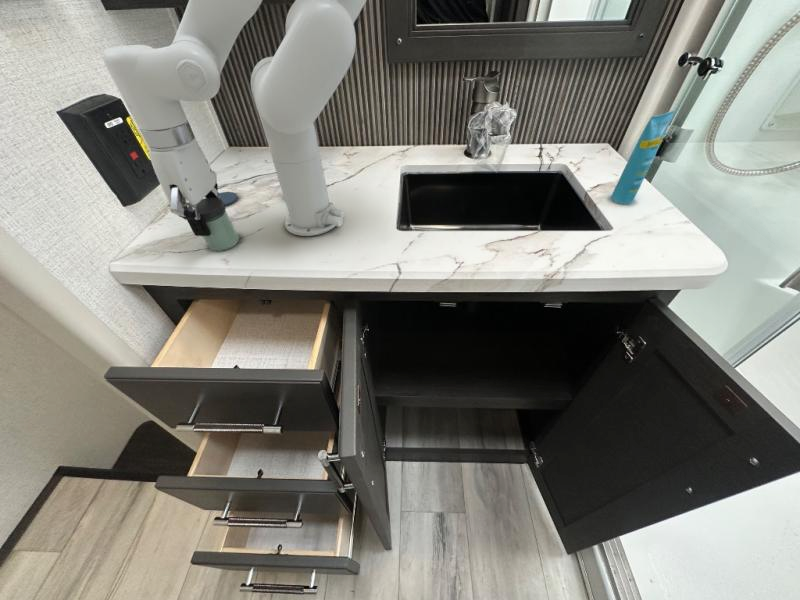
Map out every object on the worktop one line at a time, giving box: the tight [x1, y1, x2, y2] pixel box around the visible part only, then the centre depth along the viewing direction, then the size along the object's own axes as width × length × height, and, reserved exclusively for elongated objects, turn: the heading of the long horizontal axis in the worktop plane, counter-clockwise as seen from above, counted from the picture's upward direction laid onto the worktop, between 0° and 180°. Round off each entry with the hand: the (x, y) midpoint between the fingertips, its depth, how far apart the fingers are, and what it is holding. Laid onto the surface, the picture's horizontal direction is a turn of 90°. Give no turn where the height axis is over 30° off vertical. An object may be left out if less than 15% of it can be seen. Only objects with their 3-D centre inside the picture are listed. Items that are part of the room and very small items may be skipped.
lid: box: [187, 197, 226, 221], centre depth 67 cm, size 7×7×2 cm
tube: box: [610, 109, 676, 205], centre depth 74 cm, size 7×5×19 cm, turn 123°
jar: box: [202, 209, 240, 252], centre depth 70 cm, size 6×6×8 cm
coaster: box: [219, 191, 239, 207], centre depth 87 cm, size 8×8×1 cm
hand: (211, 224), depth 69 cm, fingers closed on lid, 6 cm apart
